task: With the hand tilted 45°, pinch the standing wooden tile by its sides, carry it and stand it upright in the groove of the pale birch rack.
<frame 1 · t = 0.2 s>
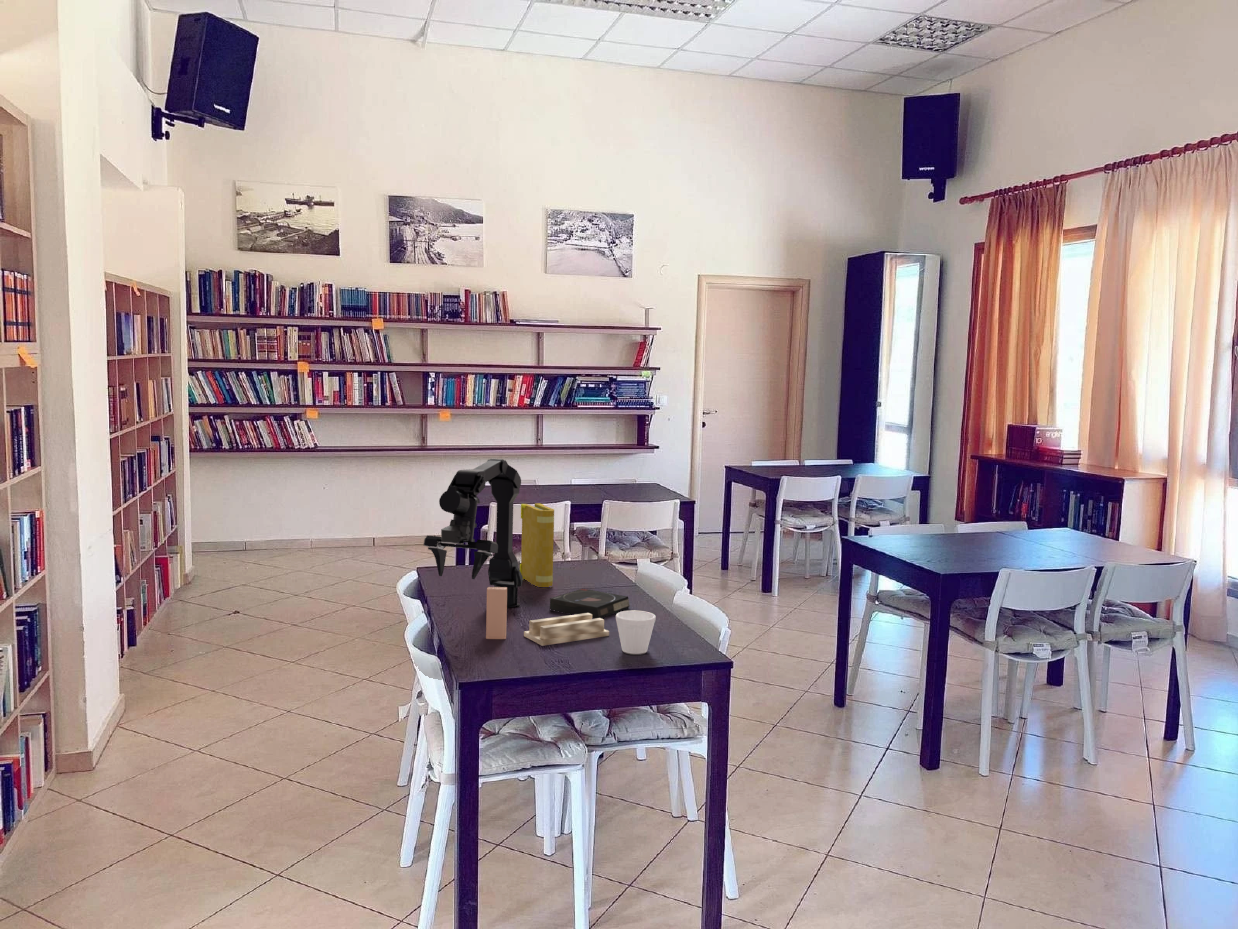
hand: (456, 577, 240), 15 cm above the table, tool tilted 15°, fingers open, 9 cm apart
book: (537, 583, 305), on the table
portable cd player: (589, 611, 272), on the table
cup: (634, 652, 232), on the table
tile: (496, 637, 240), on the table
rack: (566, 635, 244), on the table
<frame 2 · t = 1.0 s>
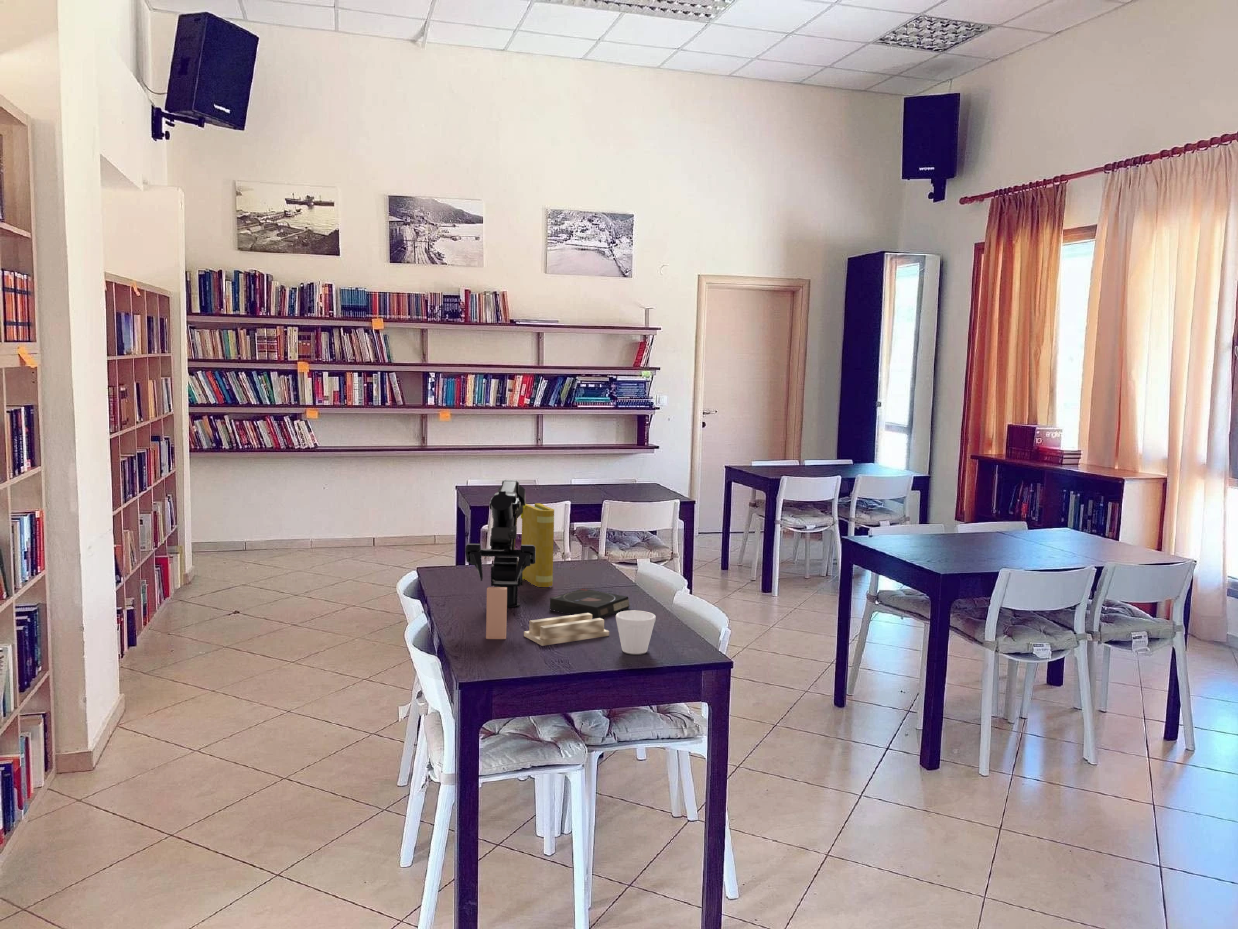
hand: (498, 580, 247), 13 cm above the table, tool tilted 45°, fingers open, 9 cm apart
nothing on the table moved.
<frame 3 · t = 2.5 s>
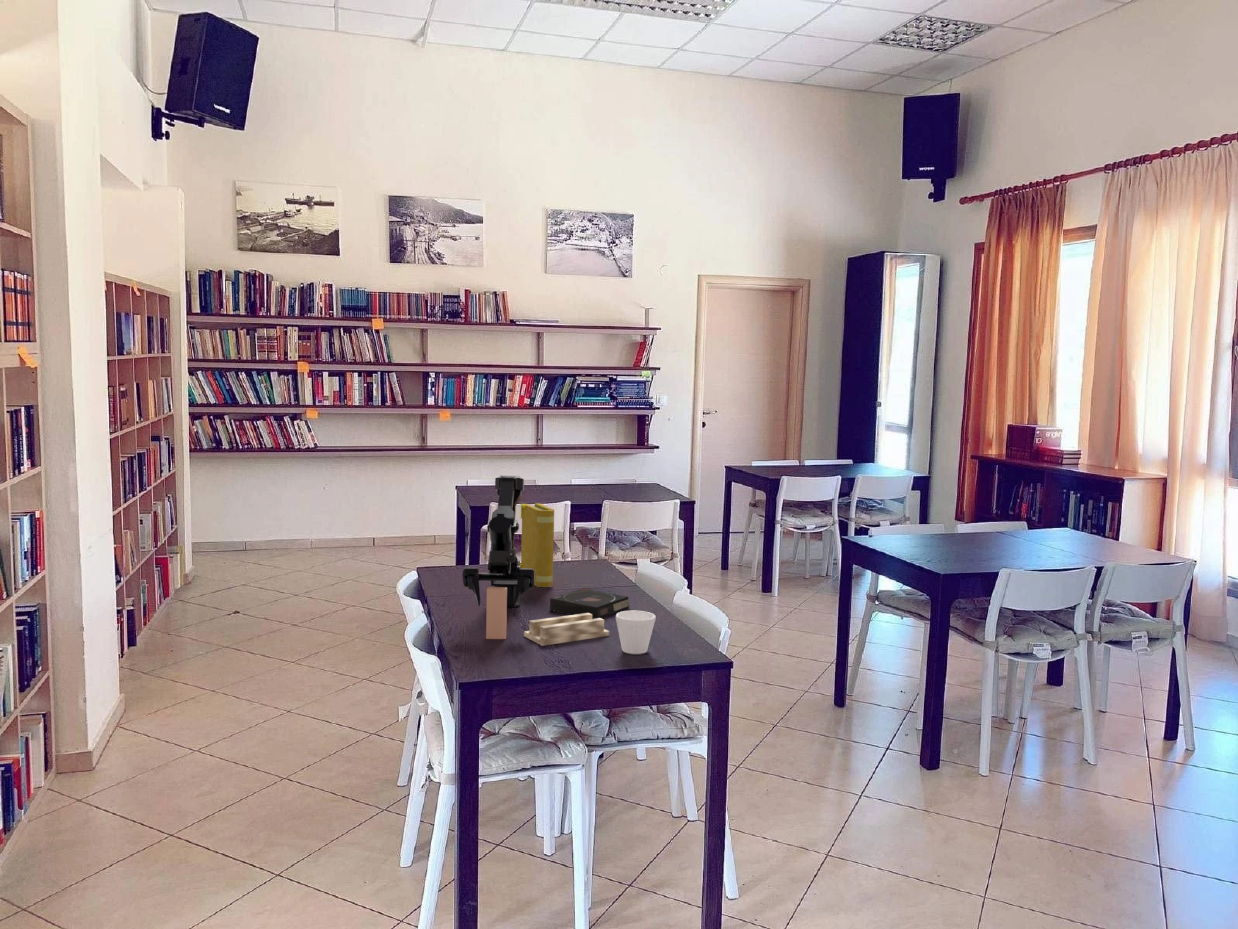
hand: (496, 605, 240), 8 cm above the table, tool tilted 45°, fingers open, 9 cm apart
nothing on the table moved.
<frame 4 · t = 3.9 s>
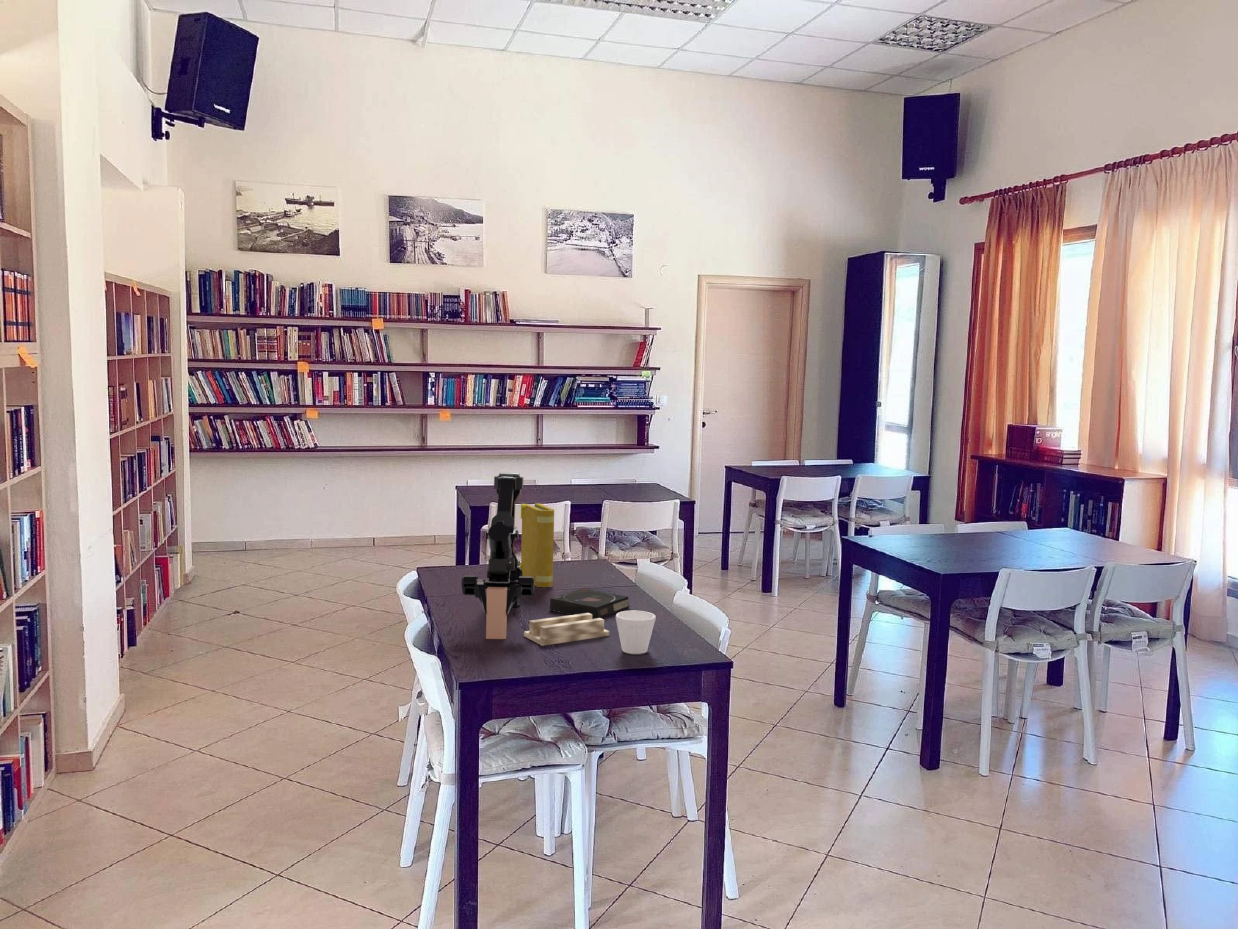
hand: (496, 614, 238), 7 cm above the table, tool tilted 45°, fingers closed on tile, 5 cm apart
tile: (496, 637, 240), on the table, touching gripper
everything else where it was.
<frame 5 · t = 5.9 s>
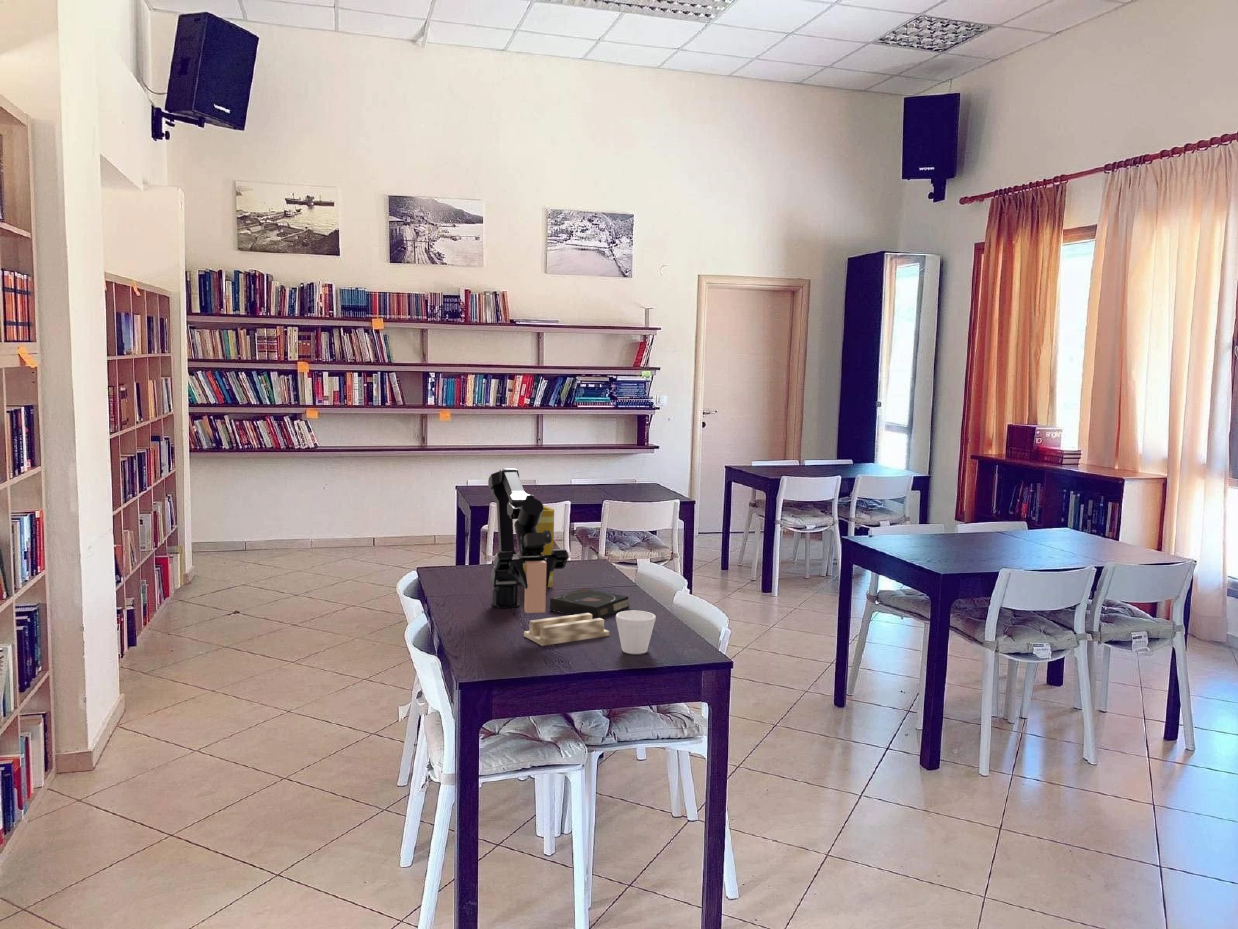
hand: (536, 587, 238), 14 cm above the table, tool tilted 45°, fingers closed on tile, 5 cm apart
tile: (534, 611, 240), point 7 cm above the table, touching gripper
everything else where it was.
when the fingers open (9 cm above the table, at t = 8.0 s): tile drops 1 cm, resting on rack.
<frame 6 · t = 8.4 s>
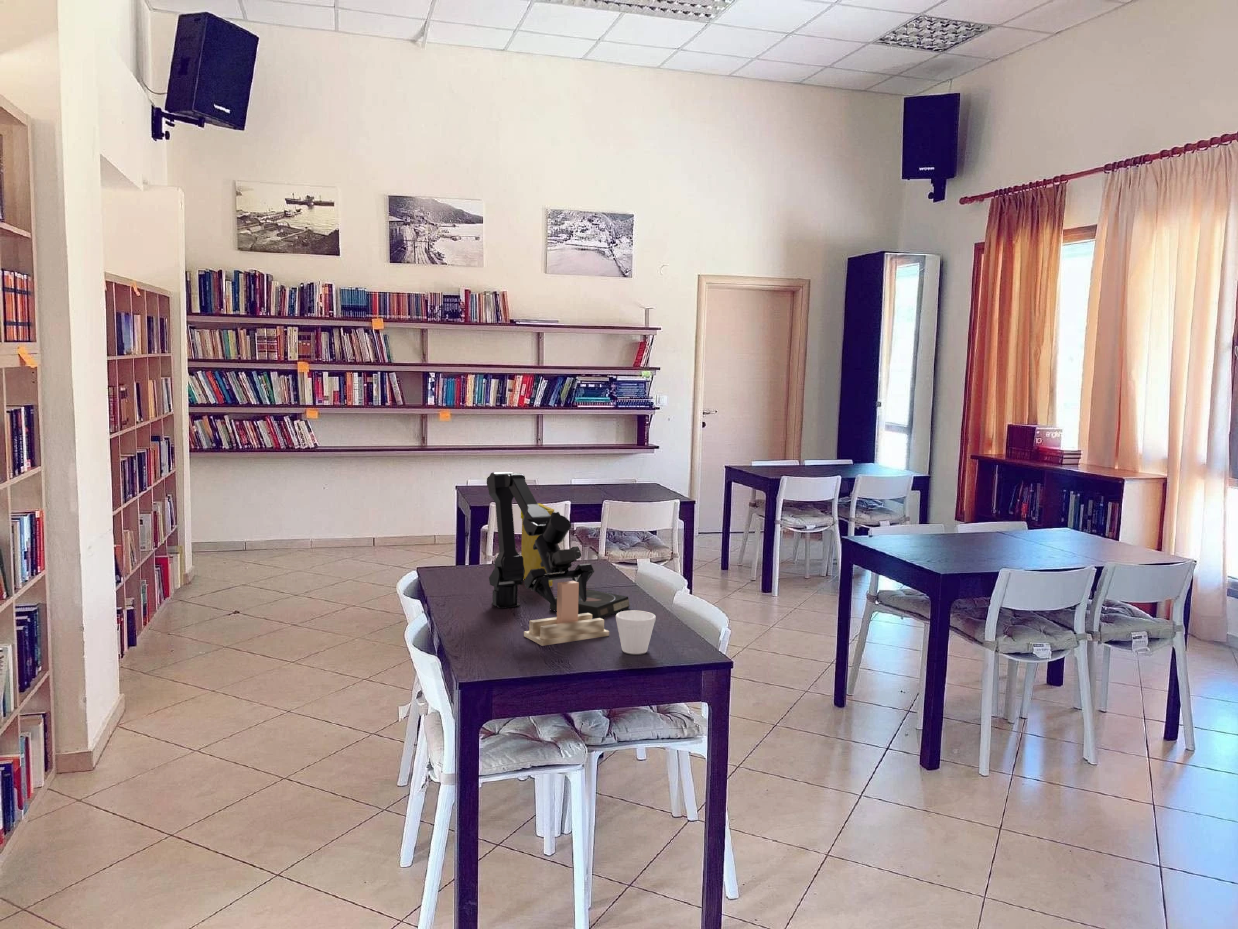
hand: (570, 603, 242), 9 cm above the table, tool tilted 45°, fingers open, 9 cm apart
tile: (566, 631, 244), point 1 cm above the table, touching rack
everything else where it was.
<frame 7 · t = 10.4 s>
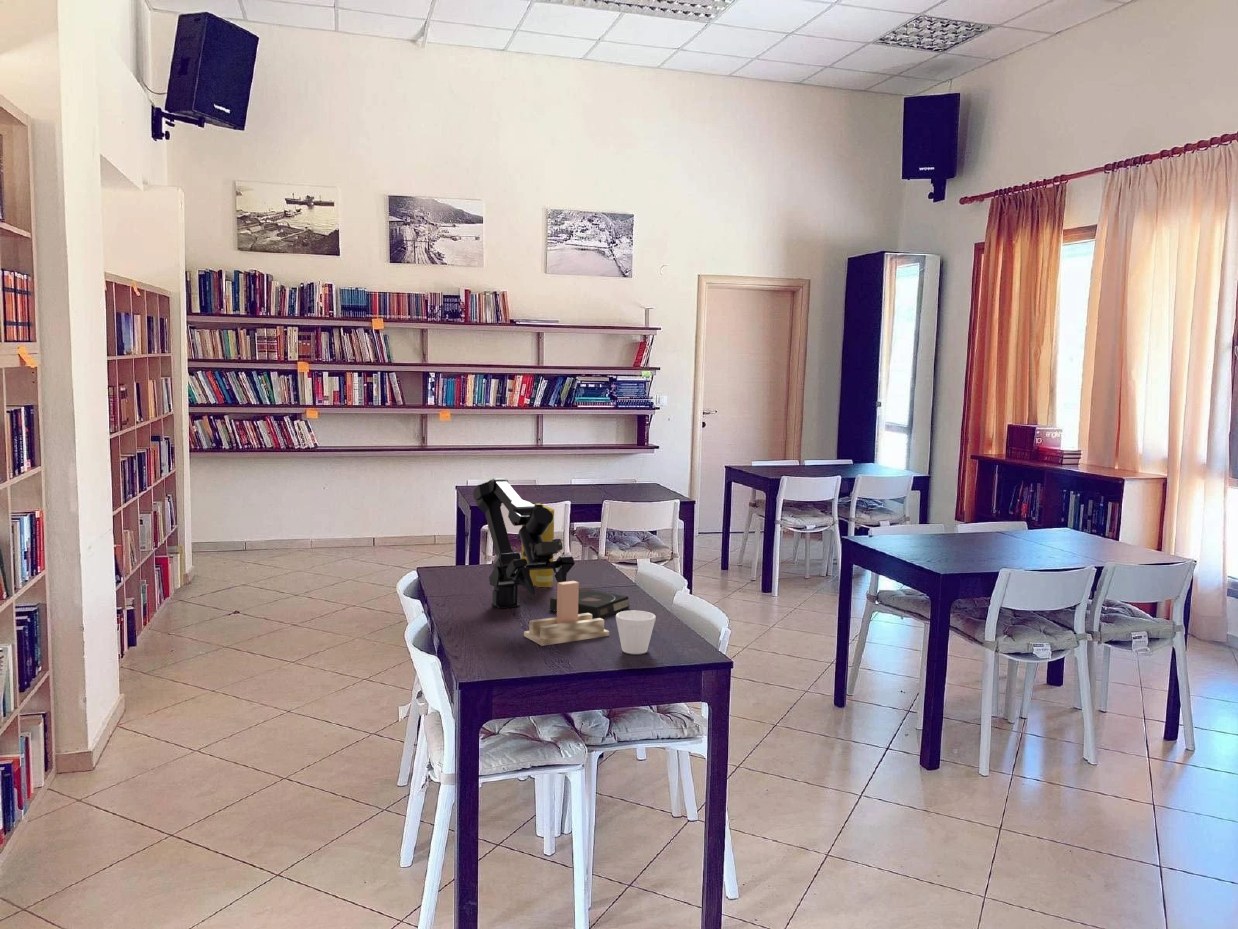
hand: (549, 593, 249), 10 cm above the table, tool tilted 40°, fingers open, 9 cm apart
nothing on the table moved.
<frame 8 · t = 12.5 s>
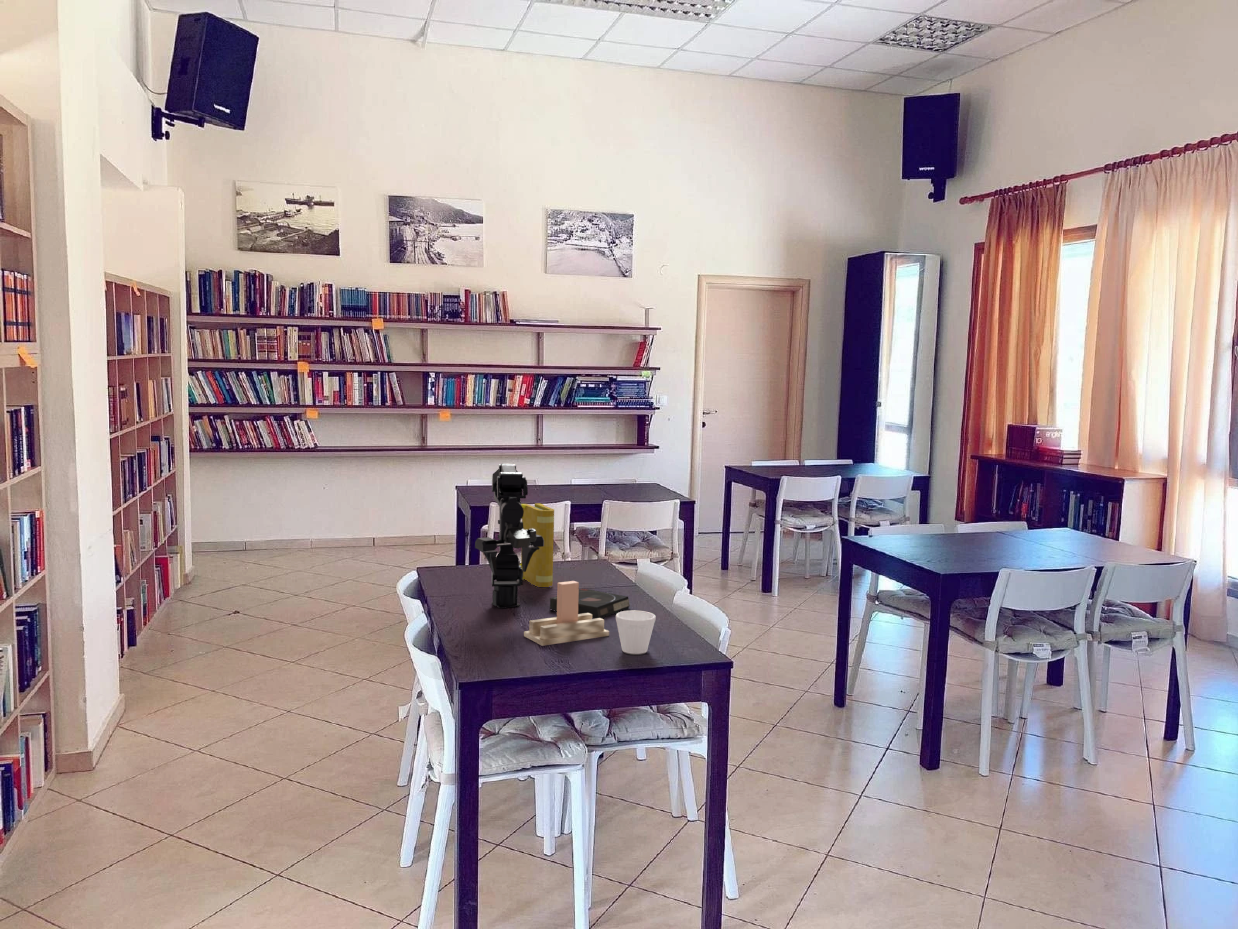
hand: (509, 573, 258), 13 cm above the table, tool pointing down, fingers open, 9 cm apart
nothing on the table moved.
at the end: tile inside the target area on the rack (0.0 cm from its centre), point 1.2 cm above the rack's base; tile tilted 0°; the gripper is holding nothing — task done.
